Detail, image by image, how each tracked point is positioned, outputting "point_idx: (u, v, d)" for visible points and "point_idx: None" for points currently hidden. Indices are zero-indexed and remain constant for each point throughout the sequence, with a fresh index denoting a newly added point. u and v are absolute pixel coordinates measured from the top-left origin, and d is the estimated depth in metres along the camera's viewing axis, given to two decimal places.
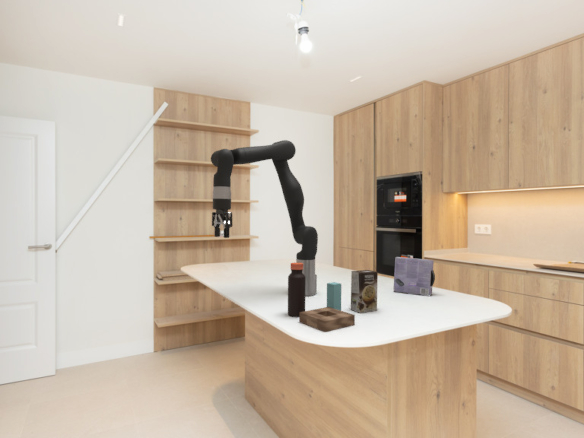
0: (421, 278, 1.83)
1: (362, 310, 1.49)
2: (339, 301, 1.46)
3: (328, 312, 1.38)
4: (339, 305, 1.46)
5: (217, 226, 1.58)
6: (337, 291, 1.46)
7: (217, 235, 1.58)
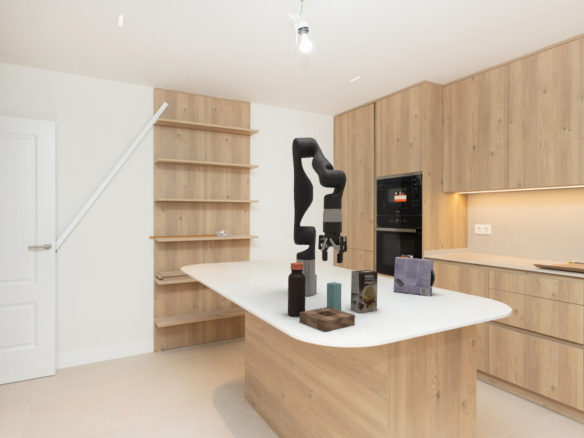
0: (421, 278, 1.83)
1: (362, 310, 1.49)
2: (339, 301, 1.46)
3: (328, 312, 1.38)
4: (339, 305, 1.46)
5: (325, 250, 1.50)
6: (337, 291, 1.46)
7: (325, 259, 1.50)
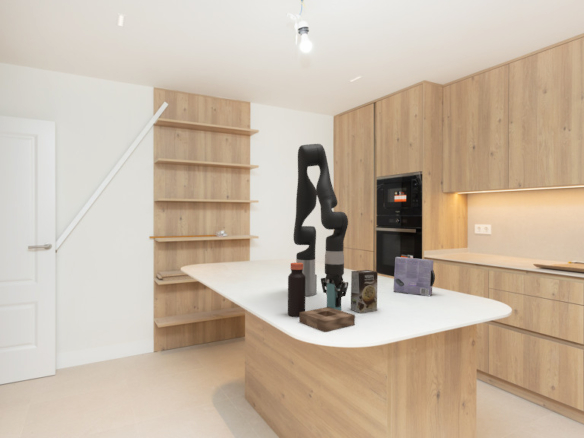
0: (421, 278, 1.83)
1: (362, 310, 1.49)
2: None
3: (328, 312, 1.38)
4: None
5: None
6: None
7: None
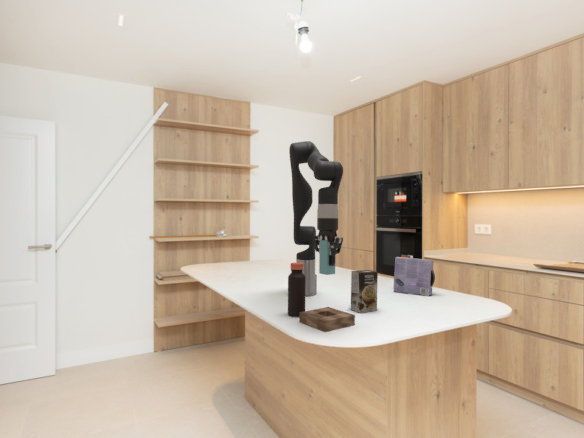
0: (421, 278, 1.83)
1: (362, 310, 1.49)
2: None
3: (328, 312, 1.38)
4: None
5: None
6: None
7: None
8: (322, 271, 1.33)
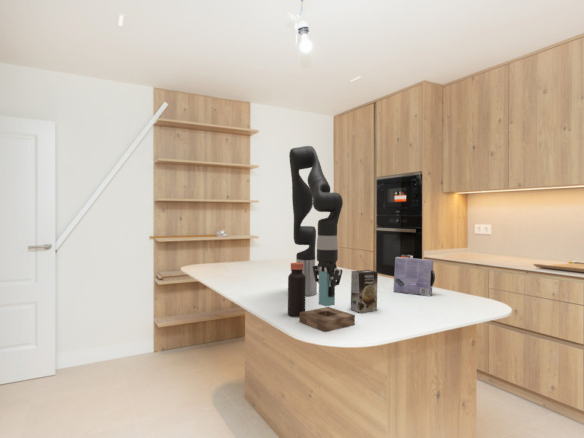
0: (421, 278, 1.83)
1: (362, 310, 1.49)
2: None
3: (328, 312, 1.38)
4: None
5: None
6: None
7: None
8: (321, 302, 1.33)
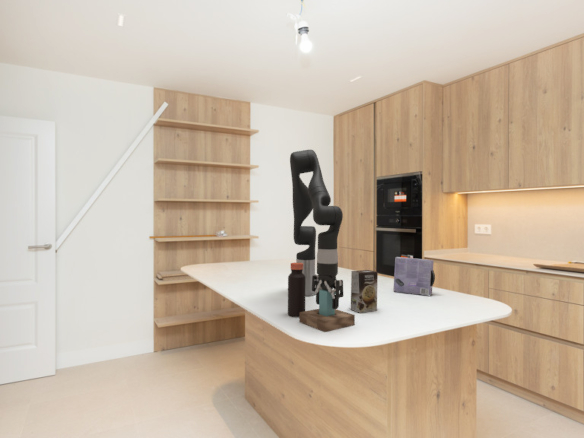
0: (421, 278, 1.83)
1: (362, 310, 1.49)
2: (332, 309, 1.33)
3: None
4: (332, 313, 1.34)
5: None
6: (330, 299, 1.33)
7: None
8: None
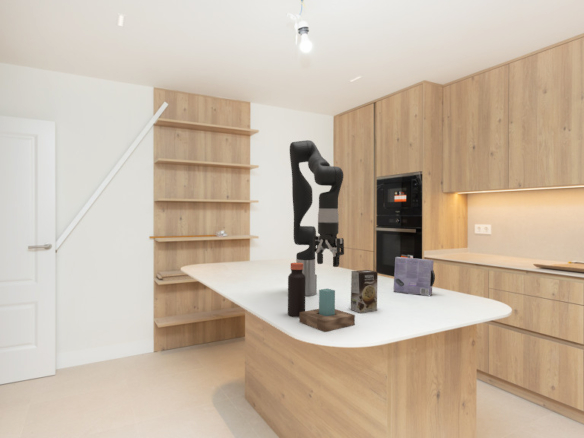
0: (421, 278, 1.83)
1: (362, 310, 1.49)
2: (332, 309, 1.34)
3: None
4: (332, 313, 1.34)
5: (320, 252, 1.40)
6: (330, 299, 1.33)
7: (320, 262, 1.40)
8: None
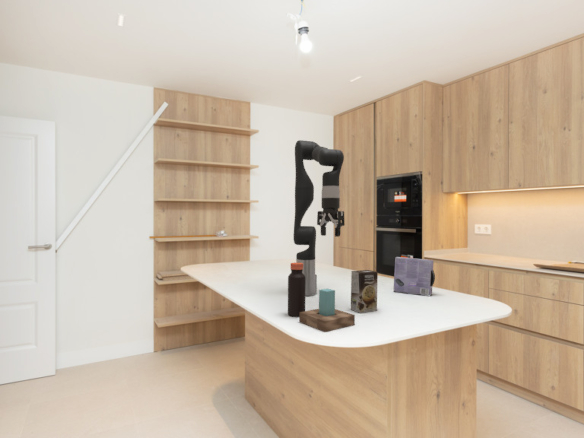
0: (421, 278, 1.83)
1: (362, 310, 1.49)
2: (332, 309, 1.34)
3: None
4: (332, 313, 1.34)
5: (323, 225, 1.60)
6: (330, 299, 1.33)
7: (323, 234, 1.60)
8: None
